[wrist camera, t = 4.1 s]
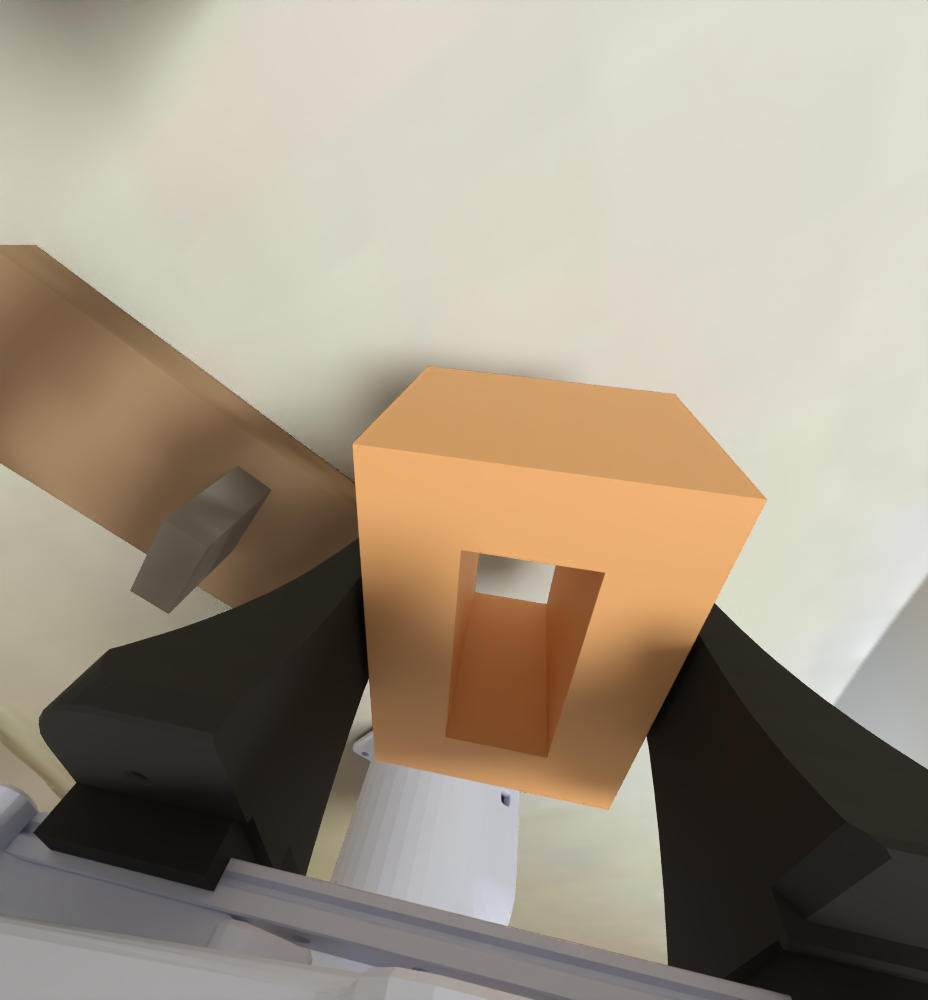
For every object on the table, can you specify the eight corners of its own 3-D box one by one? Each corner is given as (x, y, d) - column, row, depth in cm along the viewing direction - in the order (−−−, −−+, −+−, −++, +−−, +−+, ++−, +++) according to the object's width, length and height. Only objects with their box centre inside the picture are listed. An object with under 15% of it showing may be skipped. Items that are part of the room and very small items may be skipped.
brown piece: (421, 533, 20) (382, 623, 15) (321, 634, 24) (268, 726, 20) (35, 245, 16) (-180, 245, 11) (7, 433, 21) (-150, 488, 16)
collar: (674, 393, 10) (767, 500, 6) (590, 648, 15) (608, 809, 11) (428, 365, 11) (352, 443, 7) (421, 619, 15) (375, 760, 11)
